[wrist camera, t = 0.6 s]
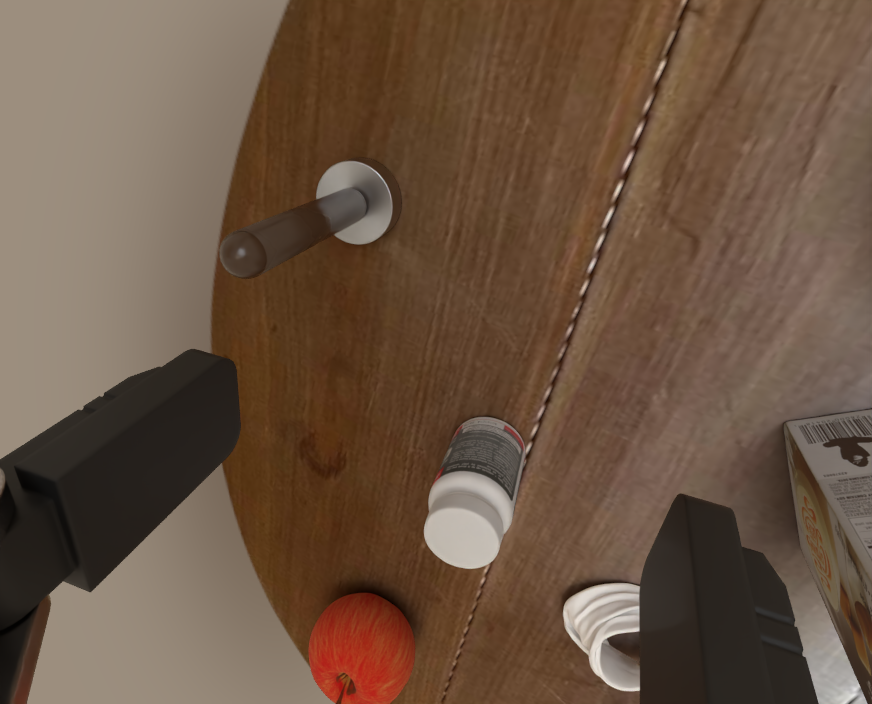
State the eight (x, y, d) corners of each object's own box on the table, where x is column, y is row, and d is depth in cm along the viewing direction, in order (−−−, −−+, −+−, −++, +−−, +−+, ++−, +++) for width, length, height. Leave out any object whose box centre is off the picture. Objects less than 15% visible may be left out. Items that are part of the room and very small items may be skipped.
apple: (438, 647, 45) (408, 749, 38) (353, 644, 48) (310, 739, 41) (408, 573, 42) (369, 668, 35) (319, 575, 45) (267, 663, 38)
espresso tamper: (325, 155, 30) (167, 194, 19) (401, 159, 29) (279, 203, 18) (330, 234, 32) (188, 311, 21) (402, 241, 31) (292, 325, 20)
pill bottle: (447, 415, 35) (406, 500, 28) (521, 413, 34) (498, 502, 27) (460, 476, 37) (424, 571, 30) (530, 477, 36) (511, 577, 28)
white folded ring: (549, 601, 41) (534, 661, 37) (598, 553, 37) (588, 614, 33) (646, 662, 40) (641, 730, 36) (706, 620, 36) (709, 691, 32)
